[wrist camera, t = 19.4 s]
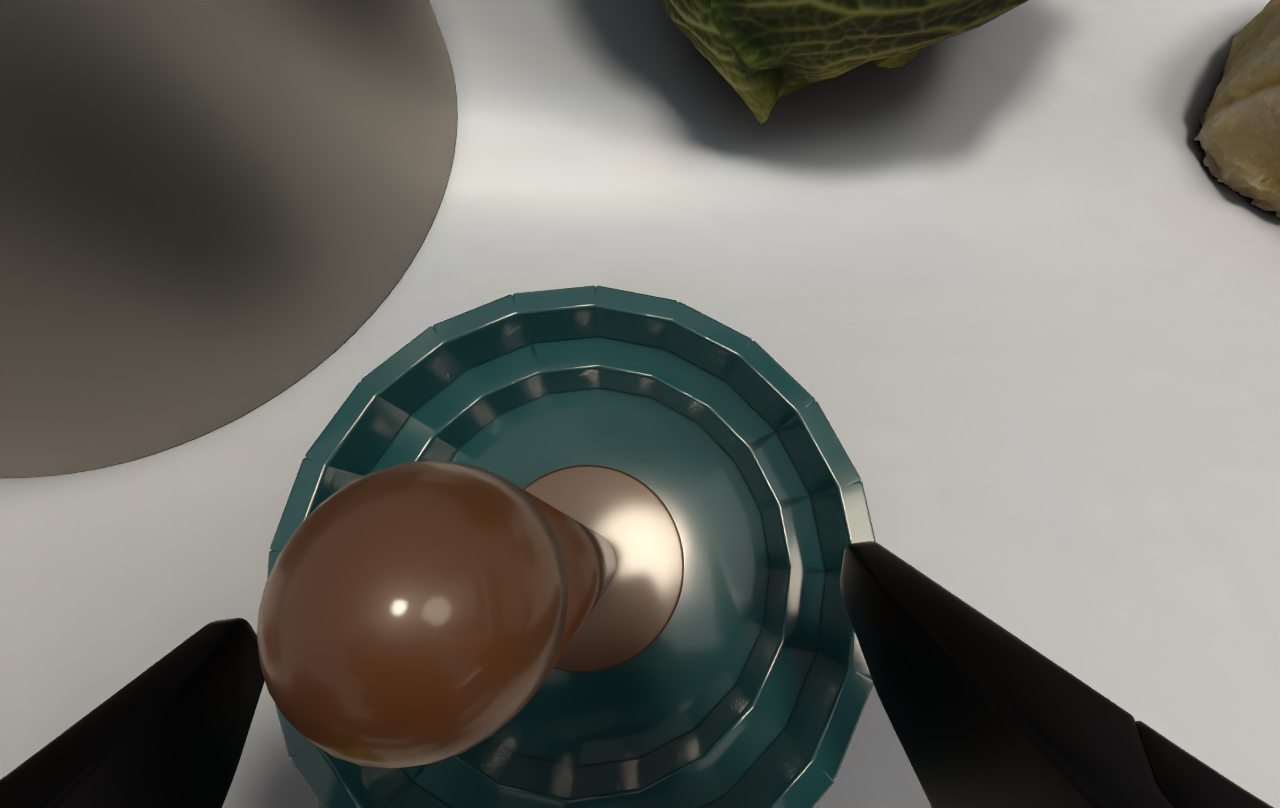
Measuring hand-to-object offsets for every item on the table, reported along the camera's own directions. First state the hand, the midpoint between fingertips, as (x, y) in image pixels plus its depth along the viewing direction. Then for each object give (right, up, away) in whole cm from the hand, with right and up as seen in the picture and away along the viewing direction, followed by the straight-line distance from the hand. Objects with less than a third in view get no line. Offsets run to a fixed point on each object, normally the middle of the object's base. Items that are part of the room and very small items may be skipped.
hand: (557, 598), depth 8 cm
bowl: (0, -2, +8) cm, 8 cm away
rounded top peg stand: (0, -2, +7) cm, 7 cm away
